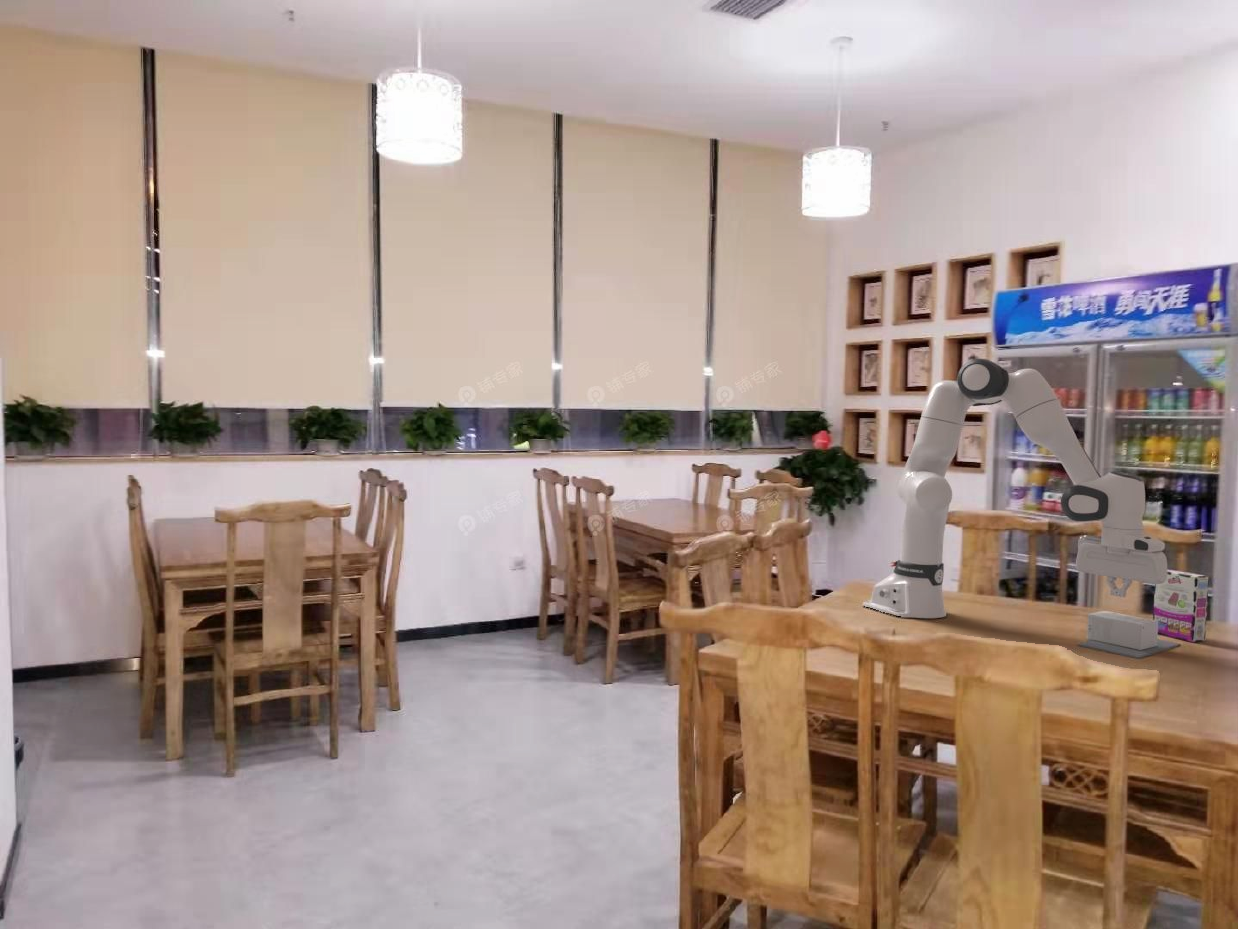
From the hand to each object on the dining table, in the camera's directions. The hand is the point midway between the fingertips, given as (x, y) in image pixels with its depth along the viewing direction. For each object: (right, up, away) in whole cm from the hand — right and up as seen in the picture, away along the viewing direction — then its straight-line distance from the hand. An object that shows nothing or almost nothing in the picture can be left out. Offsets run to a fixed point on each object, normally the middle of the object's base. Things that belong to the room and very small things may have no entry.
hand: (1118, 596), depth 226 cm
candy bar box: (+19, -12, +8) cm, 24 cm away
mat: (+2, -12, -2) cm, 12 cm away
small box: (-3, -8, +5) cm, 10 cm away
